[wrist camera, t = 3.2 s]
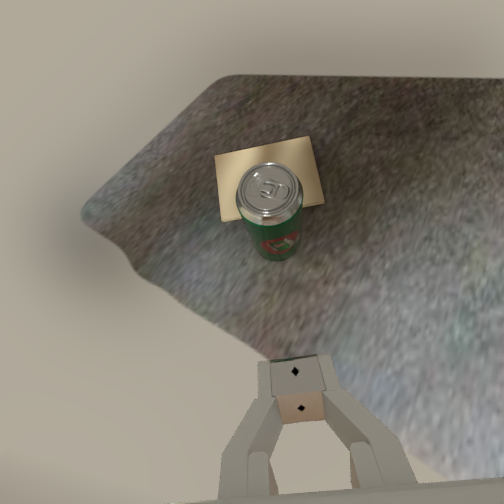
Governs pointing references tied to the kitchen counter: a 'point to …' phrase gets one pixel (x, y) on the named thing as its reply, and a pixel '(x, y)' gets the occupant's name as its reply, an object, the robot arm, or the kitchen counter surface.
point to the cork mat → (286, 152)
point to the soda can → (271, 209)
